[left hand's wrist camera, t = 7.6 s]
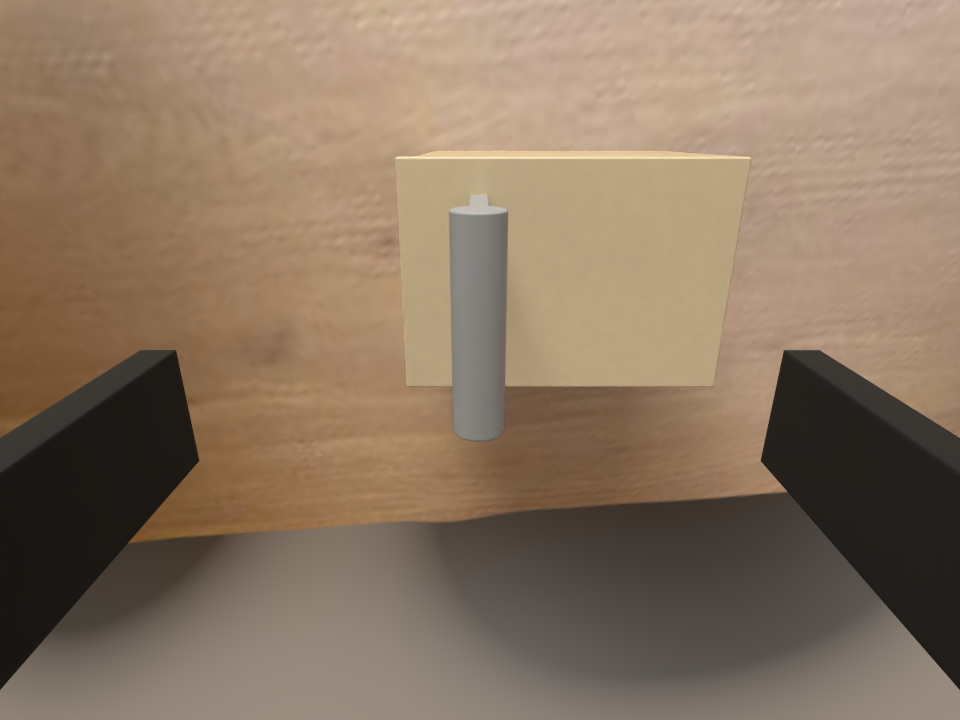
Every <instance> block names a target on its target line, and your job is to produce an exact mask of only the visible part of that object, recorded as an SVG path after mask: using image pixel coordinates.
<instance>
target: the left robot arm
mask: <svg viewBox="0 0 960 720" xmlns="http://www.w3.org/2000/svg"><path fill="white" fill-rule="evenodd" d="M198 462H199V457H198V453H197V448H196V443H195V438H194V434H193V429H192V424H191V419H190V415H189V410H188V405H187V400H186V396H185V391H184V386H183V381H182V376H181V372H180V367H179V362H178V357H177V353H176V350H140V351H139V352H137V353H135V354H134V355H132V356H131V357H129V358H127V359H126V360H124V361H123V362H121V363H119V364H118V365H116V366H115V367H113V368H111V369H110V370H108V371H107V372H105V373H103V374H102V375H100V376H99V377H97V378H96V379H94V380H92V381H91V382H89V383H88V384H86V385H84V386H83V387H81V388H80V389H78V390H76V391H75V392H73V393H72V394H70V395H68V396H67V397H65V398H64V399H62V400H60V401H59V402H57V403H56V404H54V405H52V406H51V407H49V408H48V409H46V410H44V411H43V412H41V413H40V414H38V415H36V416H35V417H33V418H32V419H30V420H28V421H27V422H25V423H24V424H22V425H20V426H19V427H17V428H16V429H14V430H12V431H11V432H9V433H8V434H6V435H4V436H3V437H1V438H0V689H1V688H2V687H3V686H4V685H5V684H6V683H7V681H8V680H9V679H10V678H11V677H12V676H13V674H14V673H15V672H16V671H17V670H18V669H19V668H20V666H21V665H22V664H23V663H24V662H25V661H26V660H27V658H28V657H29V656H30V655H31V654H32V653H33V651H34V650H35V649H36V648H37V647H38V646H39V644H40V643H41V642H42V641H43V640H44V639H45V638H46V637H47V635H48V634H49V633H50V632H51V631H52V630H53V628H54V627H55V626H56V625H57V624H58V623H59V622H60V620H61V619H62V618H63V617H64V616H65V615H66V614H67V612H68V611H69V610H70V609H71V608H72V607H73V605H74V604H75V603H76V602H77V601H78V600H79V599H80V597H81V596H82V595H83V594H84V593H85V592H86V591H87V589H88V588H89V587H90V586H91V585H92V584H93V582H94V581H95V580H96V579H97V578H98V577H99V576H100V574H101V573H102V572H103V571H104V570H105V569H106V568H107V566H108V565H109V564H110V563H111V562H112V561H113V559H114V558H115V557H116V556H117V555H118V554H119V553H120V551H121V550H122V549H123V548H124V547H125V546H126V545H127V543H128V542H129V541H130V540H131V539H132V538H133V536H134V535H135V534H136V533H137V532H138V531H139V530H140V528H141V527H142V526H143V525H144V524H145V523H146V522H147V520H148V519H149V518H150V517H151V516H152V515H153V513H154V512H155V511H156V510H157V509H158V508H159V507H160V505H161V504H162V503H163V502H164V501H165V500H166V498H167V497H168V496H169V495H170V494H171V493H172V492H173V490H174V489H175V488H176V487H177V486H178V485H179V484H180V482H181V481H182V480H183V479H184V478H185V477H186V475H187V474H188V473H189V472H190V471H191V470H192V469H193V467H194V466H195V465H196V464H197V463H198ZM761 462H762V463H763V464H764V465H765V466H766V467H767V469H768V470H769V471H770V472H771V473H772V474H773V475H774V477H775V478H776V479H777V480H778V481H779V482H780V484H781V485H782V486H783V487H784V488H785V489H786V490H787V492H788V493H789V494H790V495H791V496H792V497H793V498H794V500H795V501H796V502H797V503H798V504H799V505H800V507H801V508H802V509H803V510H804V511H805V512H806V513H807V515H808V516H809V517H810V518H811V519H812V520H813V521H814V523H815V524H816V525H817V526H818V527H819V528H820V530H821V531H822V532H823V533H824V534H825V535H826V536H827V538H828V539H829V540H830V541H831V542H832V543H833V544H834V546H835V547H836V548H837V549H838V550H839V551H840V553H841V554H842V555H843V556H844V557H845V558H846V559H847V560H848V562H849V563H850V564H851V565H852V566H853V567H854V569H855V570H856V571H857V572H858V573H859V574H860V575H861V577H862V578H863V579H864V580H865V581H866V582H867V584H868V585H869V586H870V587H871V588H872V589H873V591H874V592H875V593H876V594H877V595H878V596H879V597H880V599H881V600H882V601H883V602H884V603H885V604H886V605H887V607H888V608H889V609H890V610H891V611H892V612H893V613H894V615H895V616H896V617H897V618H898V619H899V620H900V622H901V623H902V624H903V625H904V626H905V627H906V628H907V630H908V631H909V632H910V633H911V634H912V635H913V637H914V638H915V639H916V640H917V641H918V642H919V643H920V645H921V646H922V647H923V648H924V649H925V650H926V651H927V653H928V654H929V655H930V656H931V657H932V658H933V659H934V661H935V662H936V663H937V664H938V665H939V666H940V668H941V669H942V670H943V671H944V672H945V673H946V674H947V676H948V677H949V678H950V679H951V680H952V681H953V683H954V684H955V685H956V686H957V687H958V688H959V689H960V438H959V437H957V436H956V435H954V434H952V433H951V432H949V431H948V430H946V429H944V428H943V427H941V426H940V425H938V424H936V423H935V422H933V421H932V420H930V419H928V418H927V417H925V416H924V415H922V414H920V413H919V412H917V411H916V410H914V409H912V408H911V407H909V406H908V405H906V404H904V403H903V402H901V401H900V400H898V399H896V398H895V397H893V396H892V395H890V394H888V393H887V392H885V391H884V390H882V389H880V388H879V387H877V386H876V385H874V384H872V383H871V382H869V381H868V380H866V379H864V378H863V377H861V376H860V375H858V374H857V373H855V372H853V371H852V370H850V369H849V368H847V367H845V366H844V365H842V364H841V363H839V362H837V361H836V360H834V359H833V358H831V357H829V356H828V355H826V354H825V353H823V352H821V351H820V350H784V353H783V357H782V362H781V367H780V372H779V376H778V381H777V386H776V391H775V396H774V400H773V405H772V410H771V415H770V419H769V424H768V429H767V434H766V438H765V443H764V448H763V453H762V457H761Z"/></svg>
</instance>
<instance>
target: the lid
mask: <svg viewBox="0 0 960 720" xmlns="http://www.w3.org/2000/svg"><path fill="white" fill-rule="evenodd" d="M750 163H751V158H750V157H396V158H395V171H396V191H397V210H398V229H399V248H400V268H401V287H402V306H403V325H404V345H405V364H406V383H407V386H408V387H452V397H453V430H454V432H455V434H456V435H457V436H459V437H460V438H462V439H465V440H469V441H489V440H492V439H495V438H497V437H499V436H500V435H501V434H502V433H503V431H504V423H505V387H713V386H714V381H715V375H716V368H717V362H718V356H719V350H720V344H721V338H722V332H723V326H724V320H725V314H726V308H727V302H728V296H729V290H730V284H731V278H732V272H733V266H734V260H735V254H736V248H737V242H738V236H739V230H740V224H741V218H742V212H743V206H744V200H745V194H746V188H747V182H748V175H749V169H750Z"/></svg>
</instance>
